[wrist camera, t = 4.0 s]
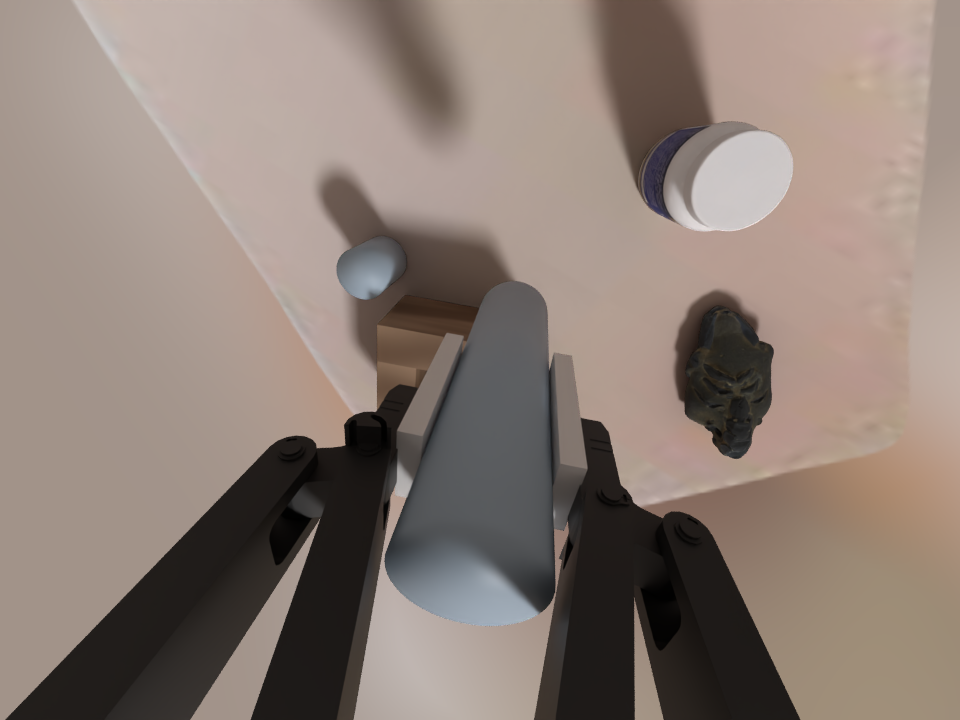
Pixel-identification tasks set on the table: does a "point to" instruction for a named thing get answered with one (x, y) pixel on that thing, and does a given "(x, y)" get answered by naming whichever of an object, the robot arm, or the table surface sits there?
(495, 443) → the long dowel
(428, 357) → the sleeve block
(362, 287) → the grey rounded cylinder
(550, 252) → the table surface
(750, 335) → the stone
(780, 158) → the pill bottle
